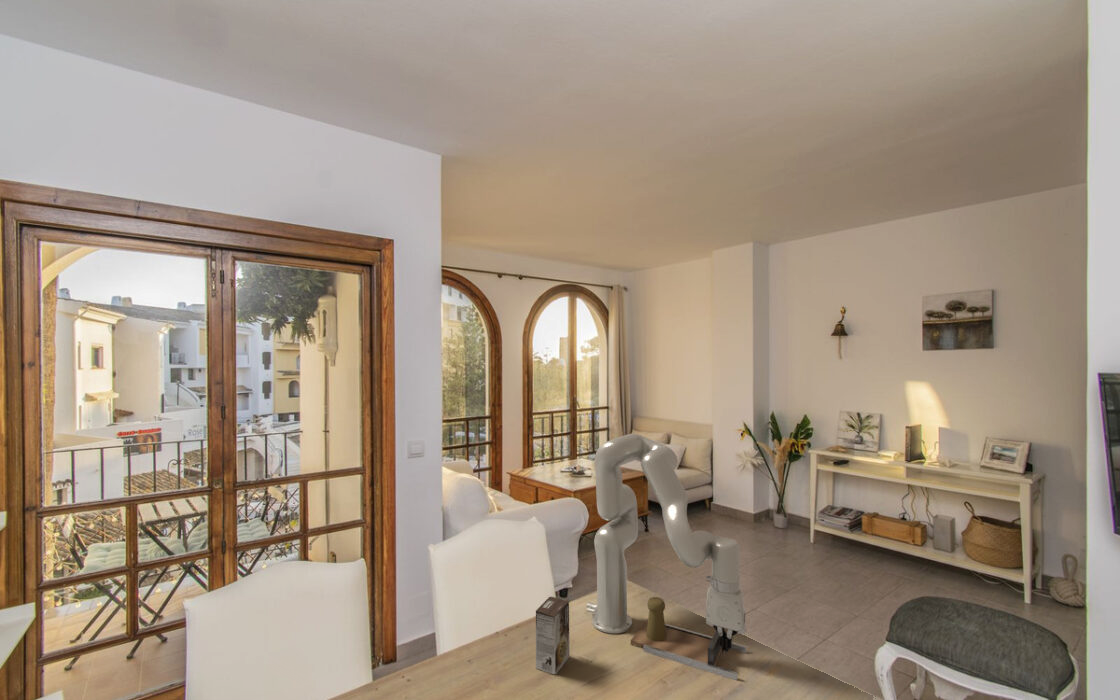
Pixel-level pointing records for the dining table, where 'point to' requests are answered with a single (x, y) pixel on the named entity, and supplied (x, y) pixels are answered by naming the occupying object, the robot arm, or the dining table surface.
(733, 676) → the rails
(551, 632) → the coffee box
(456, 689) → the dining table surface
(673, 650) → the brown tray
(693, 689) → the dining table surface
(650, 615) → the cork
